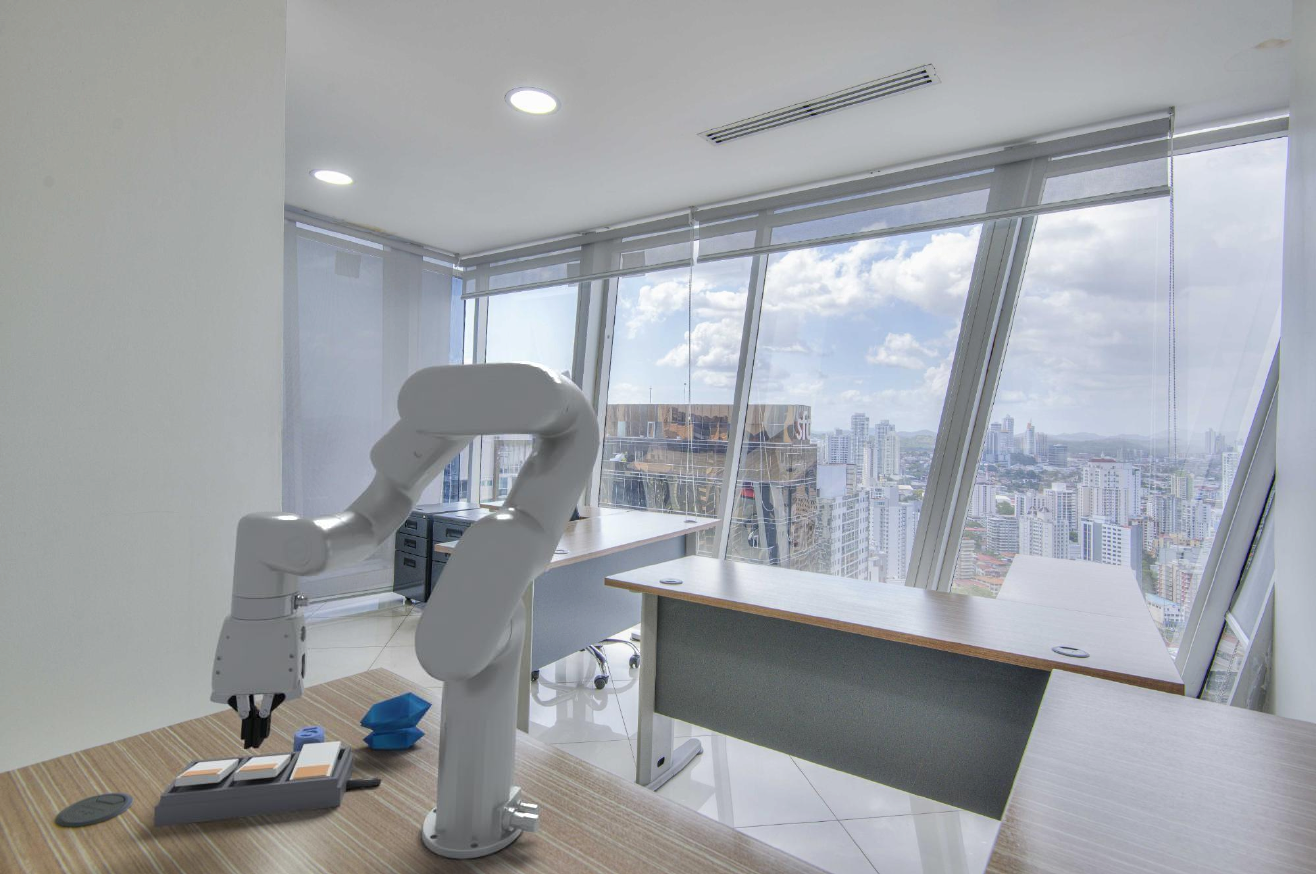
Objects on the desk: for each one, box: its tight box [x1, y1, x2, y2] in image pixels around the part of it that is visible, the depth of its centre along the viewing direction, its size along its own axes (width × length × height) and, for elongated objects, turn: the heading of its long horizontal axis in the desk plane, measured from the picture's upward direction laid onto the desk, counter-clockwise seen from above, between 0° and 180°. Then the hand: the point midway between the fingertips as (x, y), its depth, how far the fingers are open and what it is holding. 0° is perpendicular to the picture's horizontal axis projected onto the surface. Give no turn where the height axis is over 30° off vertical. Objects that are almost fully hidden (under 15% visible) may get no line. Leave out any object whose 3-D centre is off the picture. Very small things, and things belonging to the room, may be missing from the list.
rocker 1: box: [175, 759, 239, 786], centre depth 82 cm, size 5×7×1 cm
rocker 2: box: [289, 740, 342, 781], centre depth 86 cm, size 5×7×1 cm
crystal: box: [359, 691, 433, 750], centre depth 99 cm, size 7×9×12 cm
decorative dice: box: [292, 725, 325, 752], centre depth 95 cm, size 4×4×4 cm
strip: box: [153, 746, 382, 828], centre depth 84 cm, size 26×9×4 cm, turn 106°
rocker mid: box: [234, 754, 291, 781], centre depth 84 cm, size 5×7×1 cm
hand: (254, 743), depth 82 cm, fingers closed
